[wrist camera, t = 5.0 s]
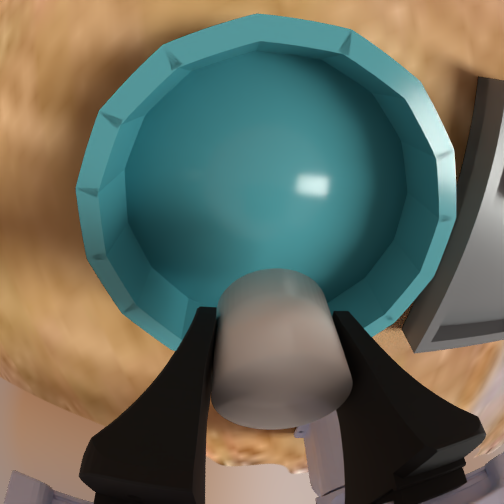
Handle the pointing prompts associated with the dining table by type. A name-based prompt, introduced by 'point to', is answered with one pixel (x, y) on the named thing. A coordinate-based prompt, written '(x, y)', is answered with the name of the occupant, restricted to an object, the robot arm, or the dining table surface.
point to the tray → (470, 244)
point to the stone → (277, 352)
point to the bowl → (266, 174)
